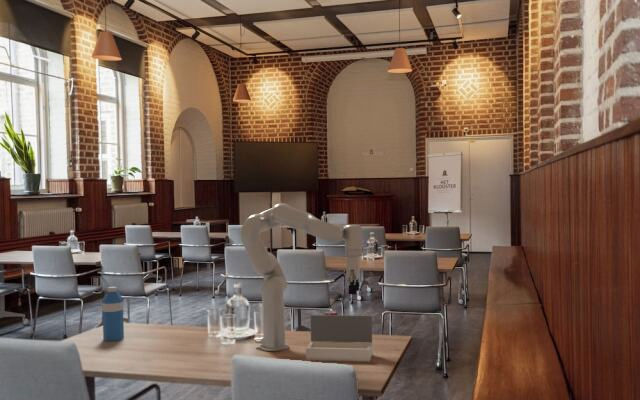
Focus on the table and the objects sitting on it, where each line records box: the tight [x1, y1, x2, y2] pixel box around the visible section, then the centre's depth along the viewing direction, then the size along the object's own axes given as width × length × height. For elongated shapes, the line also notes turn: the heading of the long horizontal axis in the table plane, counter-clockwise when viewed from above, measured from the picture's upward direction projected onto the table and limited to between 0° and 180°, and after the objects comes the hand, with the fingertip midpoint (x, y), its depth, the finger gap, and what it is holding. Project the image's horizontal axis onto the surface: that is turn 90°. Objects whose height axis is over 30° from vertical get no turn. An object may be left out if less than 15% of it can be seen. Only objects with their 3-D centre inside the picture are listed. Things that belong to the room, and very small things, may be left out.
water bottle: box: [101, 286, 125, 342], centre depth 302 cm, size 9×9×25 cm
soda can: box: [323, 310, 338, 315], centre depth 296 cm, size 7×7×12 cm
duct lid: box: [310, 314, 373, 344], centre depth 266 cm, size 26×11×1 cm
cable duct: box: [305, 341, 373, 363], centre depth 260 cm, size 26×11×5 cm, turn 80°
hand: (354, 292), depth 273 cm, fingers open, 9 cm apart
